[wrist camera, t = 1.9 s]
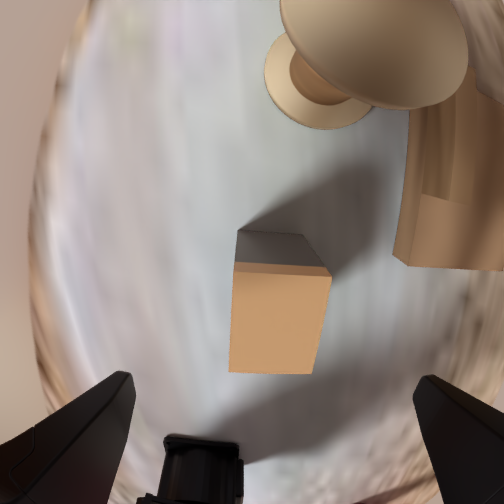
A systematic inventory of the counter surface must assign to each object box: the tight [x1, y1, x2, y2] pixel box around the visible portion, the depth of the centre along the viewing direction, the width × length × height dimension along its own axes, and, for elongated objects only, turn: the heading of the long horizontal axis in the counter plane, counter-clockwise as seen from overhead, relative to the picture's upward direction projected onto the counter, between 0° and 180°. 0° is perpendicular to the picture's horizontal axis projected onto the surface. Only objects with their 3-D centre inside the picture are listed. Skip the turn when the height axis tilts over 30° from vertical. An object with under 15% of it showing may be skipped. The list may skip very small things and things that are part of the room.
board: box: [392, 66, 504, 271], centre depth 13 cm, size 9×11×4 cm
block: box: [229, 230, 332, 374], centre depth 14 cm, size 4×4×6 cm
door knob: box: [264, 0, 468, 130], centre depth 9 cm, size 6×6×8 cm
